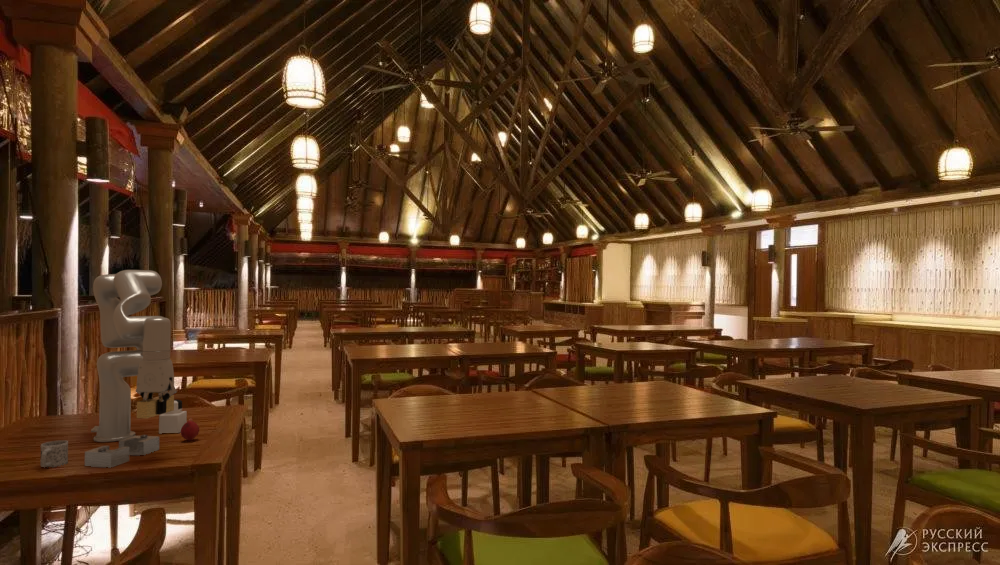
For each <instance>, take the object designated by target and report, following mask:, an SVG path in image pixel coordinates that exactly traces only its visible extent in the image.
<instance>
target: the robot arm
mask: <svg viewBox="0 0 1000 565" xmlns="http://www.w3.org/2000/svg"><path fill="white" fill-rule="evenodd" d="M162 282H163V280H162V278H161V275H160V274H159V273H158V272H157V271H155V270H149V269H145V270H143V269H124V270H120V271H119V272H117V273H112V274H111V273H110V274H109V273H107V274H102V275H99V276H97V277H96V278H95V279H94V280H93V285H92V286H93V287H92V291H93V296H94V298H95V299H94V300H95V301H96V303H97V306H98V310H99V317H100V318H99V319H100V320H99V321H100V340H101V344H102V346H103V347H105V348H110V349H113V348H114V349H118V348H120V349H121V348H136V349H134V350H119V351H117V350H116V351H115V350H114V351H109V352H106V353H103V354H101V355H100V356H99V357H98V358H97V361H96V368H97V369H96V370H97V376H98V382H99V414H98V415H99V420H98V421H99V423H98V425H94V427H93V428H91V430H90V433H96V435H95V436H94V437H93V441H94V442H98V443H111V442H119V441H120V440H123V439H126V438H129V437H132V436H136V432H135V431H132V430H131V418H132V417H131V410H132V409H131V408H132V405H131V404H132V401H131V400H132V389H131V386H130V384H128V383H127V382H126V381H125V380H124V378H126V377H127V378H128V377H136V389H135V392H136V394H138V395H139V396H140V397H141V398H142V400H143V399H150V398H154V393H158V396H159V401H160V402H158V414H159V415H161V414H163V413H166V405H167V400H168V399H169V398H170V397H171V395H174V394H176V393H177V392H178V391H177V388H176V387H175V371H174V366H173V361H172V359H171V335H172V334H171V331H172V330H171V327H172V326H171V323H172V322H171V320H170V319H169V318H167V317H164V316H162V315H138V316H137V315H135V316H131V315H134V314H137V313H138V312H142V311H144V310H146V308H148V307H149V305H150V304H151V302H152V298H151V296H154V295H156V294H158V293H159V292H160V291H161V289H162V286H163V283H162ZM163 394H164V396H163ZM159 415H158V416H159Z"/></svg>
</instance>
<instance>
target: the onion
mask: <svg viewBox="0 0 1000 565" xmlns="http://www.w3.org/2000/svg"><path fill="white" fill-rule="evenodd" d="M193 420H194V419H193V418H189V419H187V422H186V423H185V424H184V425H183V426H182V428H181V432H180V435H181V437H182V438H183V439H184V440H186V441H188V442H191V441H193V440H194V439H195V438H196V437H197V436H198V435H199V433H200V426H199V425H198V424H197V422H195V421H193Z"/></svg>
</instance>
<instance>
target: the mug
mask: <svg viewBox="0 0 1000 565" xmlns="http://www.w3.org/2000/svg"><path fill="white" fill-rule="evenodd" d="M68 460H69V440H61V439H60V440H52V441H47V442H43V443H41V444H40V466H41V467H44V468H43V469H48V467H52V468H57V466H58V467H62V466H65V465H67V464H69V463H68V462H69V461H68ZM64 464H65V465H64ZM61 465H62V466H61ZM41 467H40V468H41ZM45 467H47V468H45Z"/></svg>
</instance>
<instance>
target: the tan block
mask: <svg viewBox="0 0 1000 565" xmlns="http://www.w3.org/2000/svg"><path fill="white" fill-rule="evenodd" d="M163 396H164V393H163ZM174 400H175V395H174V394H173V395H171V397H170V398H169V399H168V400H167V405H166V413H167V412H170V411H173V410H174ZM158 402H160V401H159V395H158V396H155V397H154V396H153V398H150V399H143V398H142V400H138V401H136V419H150V418H153V417H157V416H159V414H158Z"/></svg>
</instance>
